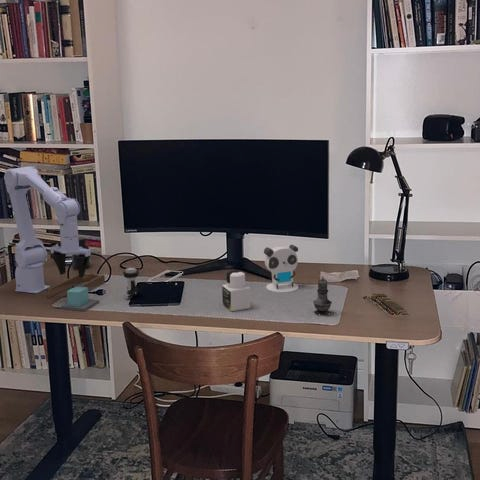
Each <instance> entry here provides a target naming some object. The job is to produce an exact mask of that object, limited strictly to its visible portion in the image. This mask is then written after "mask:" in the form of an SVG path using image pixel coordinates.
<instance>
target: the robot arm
mask: <svg viewBox="0 0 480 480" xmlns="http://www.w3.org/2000/svg"><path fill="white" fill-rule="evenodd" d="M3 179H4V184H5V187H6V192H7V193H8V194H9V198H10V202H11V206H12V210H13V215H14V219H15V223H16V227H17V232H18V236H19V240H20V241H18V243H17V244H16V245H15V246H14V252H15V253H14V254H15V255H14V257H15V258H14V259H15V261H16V264H17V266H16V269H15V270H14V276H15V286H16V288H15V289H14V290H15V292H21V293H30V294H38V293H41V292H43V291H45V290H47V289H48V288H50V287H51V285H46V284H45V278H44V277H45V276H44V274H45V273H44V265H45V262H46V261H47V259H48V252H47V249H46V248H45V246H44V243H43V241H42V240H41V239H39V238H37V237H36V233H35V229H34V226H33V221H32V217H31V213H30V208H29V204H28V200H27V196H26V195H27V193H28V191H29V190H30V189H31V188H33V190H34V189H35V191H37V192H38V193H40V194H41V195H42V198H43V201H44V202H46V204H47V205H49V206H50V207H51V208H52V209H53V210H54V214H55V216H56V220H57V222H58V223H57V224H59V232H60V234H59V235H60V246H59V245H58V246H56V245H54V246H51V247H50V253H51V254H52V255H51V258H52V260H53V261H54V263H55V264H56V266H57V269H58V271H59V275H61V276H62V275H64V274H66V269H67V268H66V258H67V255H72V254H73V255H79V256H78V257H76V258H75V259H76V261H77V265H78V270H77V271H78V274H79V277H82V276H84V275H85V273H86V270H87V269H86V265H87V262H88V260H89V258H90V259H91V249H90V248H89V249H84V248H81V247H79V240H78V237H79V226H78V216H79V215H80V212H81V206H80V203H79V201H78V200H77V199H76V198H71V197H67V195H66V194H64V193H63V192H62V191H60V190H59V188H58V187H54V186H51V187H50V185H48V184H47V183H46V182H45V180H44V179H43V178H42V177H41V176H40V173H39V170H38V169H36V167H35V166H33V165H29V166H24V167H23V166H22V167H17V168H8V169H6V171H5V173H4V176H3Z"/></svg>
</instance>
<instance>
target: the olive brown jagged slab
mask: <svg viewBox="0 0 480 480" xmlns="http://www.w3.org/2000/svg"><path fill="white" fill-rule="evenodd" d="M370 295H373V296H371V298H370V297H369V296H370ZM366 296H367V297H368V298H369V299H371V300H372V301H374V302H376V303H377V304H378V305H380V306H381V307H382V308H383V309H384V310H386V311H387V312H388V313H389V314H391V315H394V313H395V314H396V315H399V314H400V313H401V314H402V315H406V314H408V313H407V311H406V309H404V307H403V306H401V305H400V304H399V303H397V302H396V301H394V300H392V299H391V298H390V297H389V296H388V295H387V294H386V293H384V292H377V293H376V292H375V293H373V292H372V293H371V294H369V295H366ZM366 296H363V297H362V298H365V299H366V298H367V297H366ZM368 298H367V299H368ZM369 299H368V300H369ZM376 299H378V300H379V301H380V302H379V301H378V300H376ZM371 300H370V301H371ZM372 301H371V302H372ZM381 303H382V304H381ZM388 308H389V309H388ZM393 312H394V313H393Z"/></svg>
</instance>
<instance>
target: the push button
mask: <svg viewBox="0 0 480 480" xmlns="http://www.w3.org/2000/svg"><path fill="white" fill-rule="evenodd" d="M139 273H140V270H138V269H137V268H136V267H127V268H125V270H124V271H122V274H123V277H124V278H125V279H126V280H127V287H126V288H127V290H126V291H125V293H126V295H125V297H126V298H125V300H128V299H129V300H132V299H131V297H132V296H133V295H134V293H135V294H136V293H137V292H138V291H139V292H140V290H139V288H138V287H137V285H136V282H137V281H136V278H137V277H138V276H139Z"/></svg>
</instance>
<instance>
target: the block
mask: <svg viewBox="0 0 480 480" xmlns="http://www.w3.org/2000/svg"><path fill="white" fill-rule="evenodd" d="M79 286H80V285H79ZM79 286H77V285H75V286H73V288H72V287H71V288H69V290H68V289H67V291H66V296H67V297H66V299H67V302H68V306H76V307H81V306H82V305H84V304H86V303H88V302H89V299H90V295H89V291H88V287H79Z"/></svg>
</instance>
